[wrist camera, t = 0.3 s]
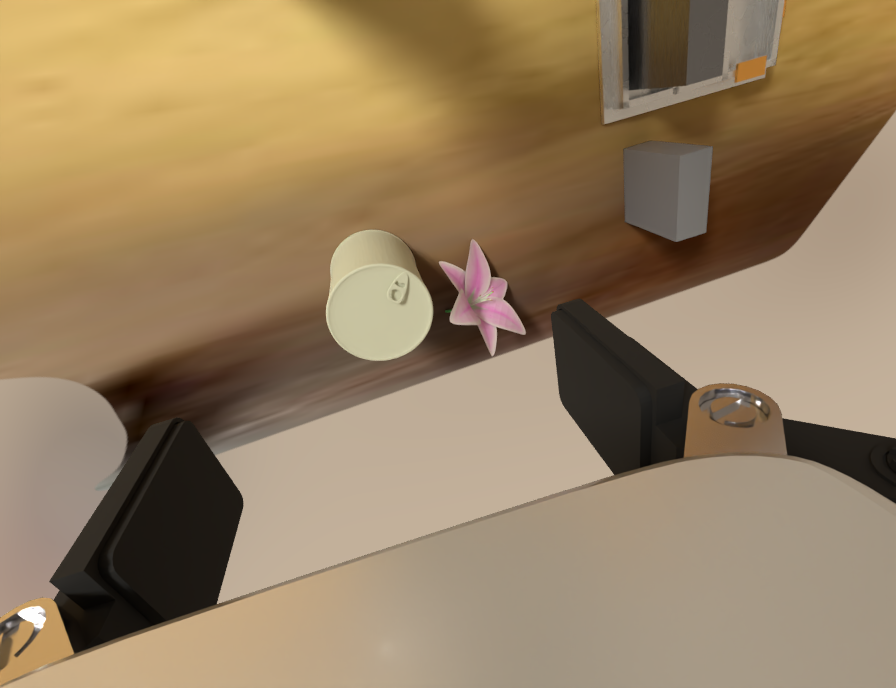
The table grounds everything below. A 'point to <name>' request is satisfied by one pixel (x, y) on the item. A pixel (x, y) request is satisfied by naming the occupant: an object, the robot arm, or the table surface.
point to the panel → (667, 188)
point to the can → (377, 297)
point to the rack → (680, 50)
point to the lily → (481, 298)
